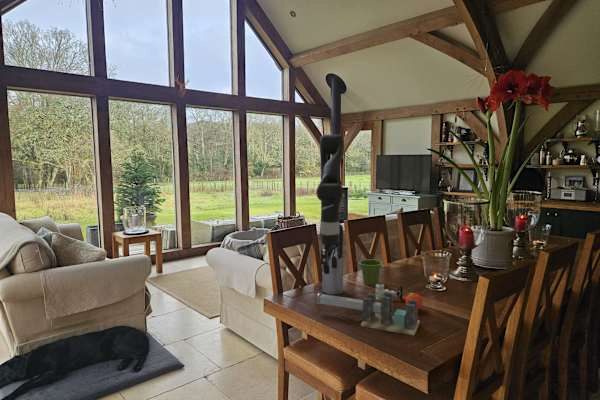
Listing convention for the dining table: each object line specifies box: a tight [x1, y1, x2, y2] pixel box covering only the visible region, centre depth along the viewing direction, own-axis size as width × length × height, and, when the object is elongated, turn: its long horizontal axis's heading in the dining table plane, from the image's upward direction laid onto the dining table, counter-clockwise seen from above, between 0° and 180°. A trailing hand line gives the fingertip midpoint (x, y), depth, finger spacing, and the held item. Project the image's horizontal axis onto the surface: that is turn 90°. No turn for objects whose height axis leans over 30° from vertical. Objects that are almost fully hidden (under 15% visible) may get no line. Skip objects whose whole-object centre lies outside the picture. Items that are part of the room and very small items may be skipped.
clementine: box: [405, 292, 424, 310], centre depth 166 cm, size 8×7×7 cm
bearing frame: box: [360, 292, 421, 336], centre depth 151 cm, size 20×12×12 cm, turn 64°
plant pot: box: [358, 258, 383, 286], centre depth 200 cm, size 12×12×11 cm
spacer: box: [393, 308, 406, 327], centre depth 149 cm, size 4×5×4 cm
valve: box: [374, 283, 404, 301], centre depth 178 cm, size 7×7×12 cm
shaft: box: [315, 292, 381, 314], centre depth 158 cm, size 30×4×4 cm, turn 64°
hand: (330, 270), depth 161 cm, fingers open, 8 cm apart
